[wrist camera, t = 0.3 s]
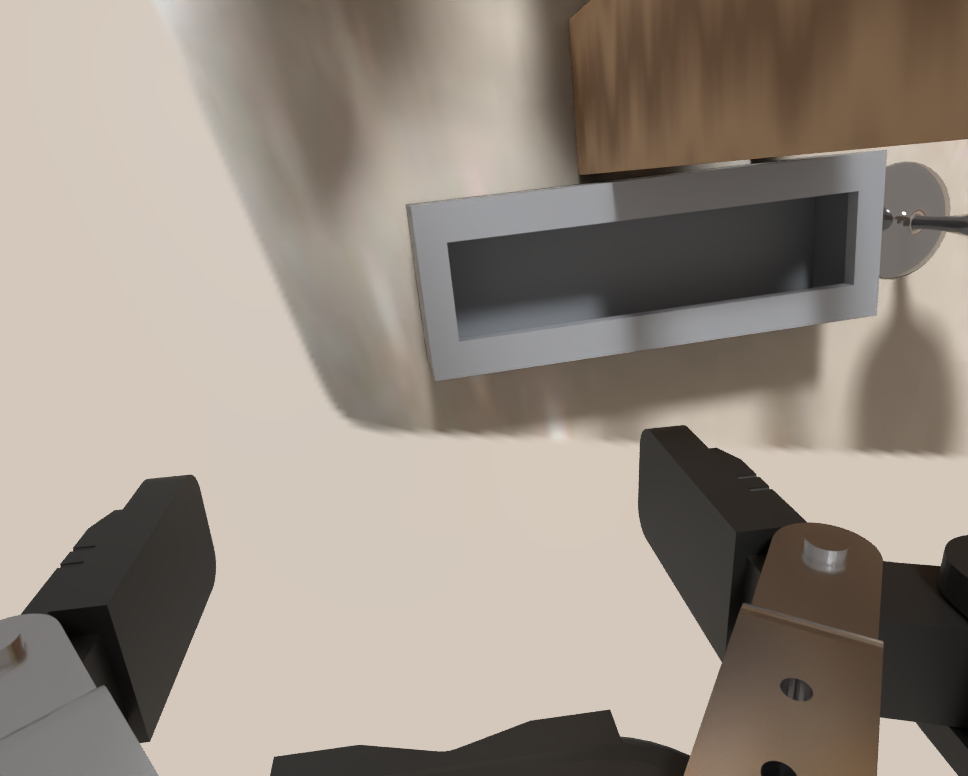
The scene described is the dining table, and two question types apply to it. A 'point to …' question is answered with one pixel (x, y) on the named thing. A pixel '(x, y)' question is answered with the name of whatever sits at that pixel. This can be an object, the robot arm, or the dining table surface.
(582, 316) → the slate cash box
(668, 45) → the walnut stand
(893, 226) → the wine glass
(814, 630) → the robot arm
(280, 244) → the dining table surface
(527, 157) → the dining table surface
